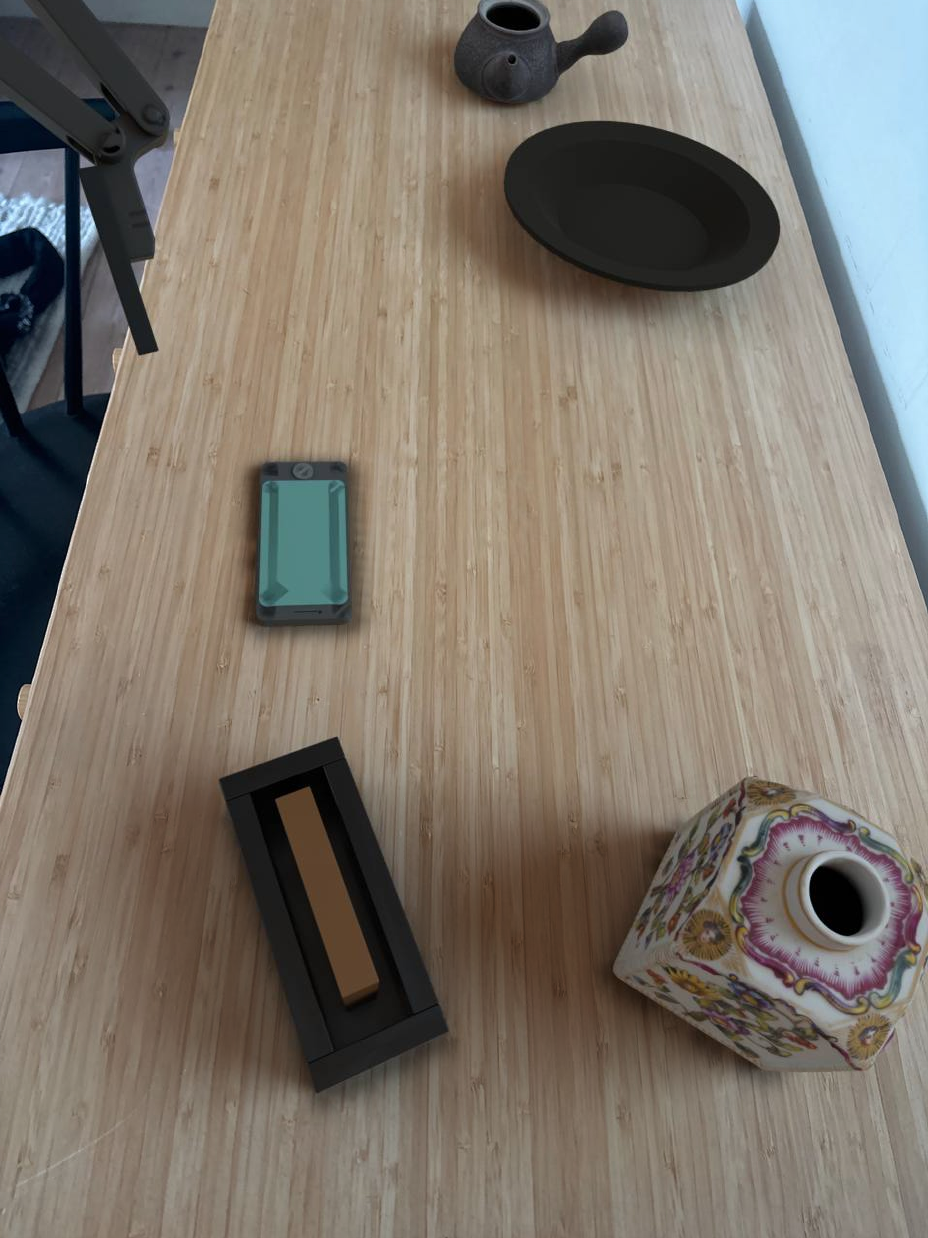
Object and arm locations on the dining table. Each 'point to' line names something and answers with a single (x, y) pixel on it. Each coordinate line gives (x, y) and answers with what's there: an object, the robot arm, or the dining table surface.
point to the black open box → (309, 983)
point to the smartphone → (303, 544)
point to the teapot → (526, 49)
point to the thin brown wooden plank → (329, 899)
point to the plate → (641, 206)
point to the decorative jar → (783, 929)
